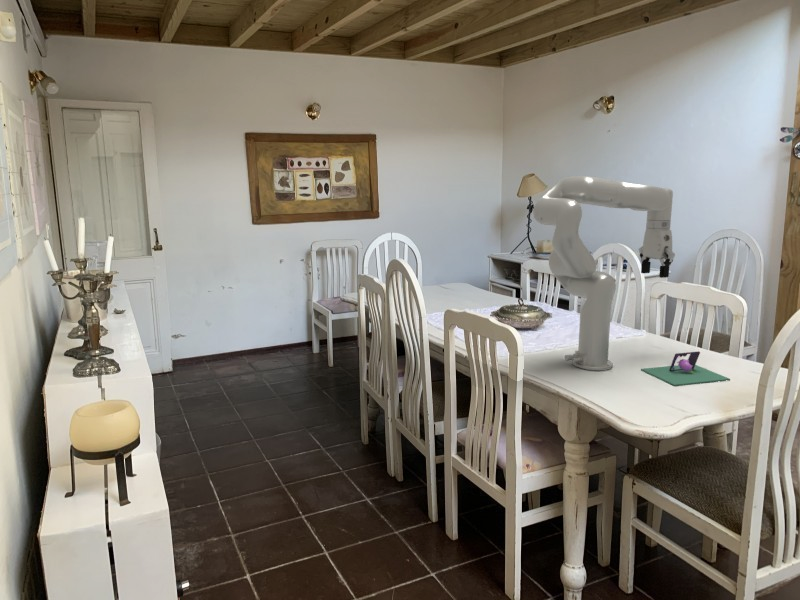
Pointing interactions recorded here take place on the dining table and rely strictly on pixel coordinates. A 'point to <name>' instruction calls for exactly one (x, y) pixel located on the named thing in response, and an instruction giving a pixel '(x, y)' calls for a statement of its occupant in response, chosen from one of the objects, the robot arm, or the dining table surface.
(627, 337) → the dining table surface
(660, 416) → the dining table surface
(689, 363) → the black open frame
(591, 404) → the dining table surface
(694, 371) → the mat
